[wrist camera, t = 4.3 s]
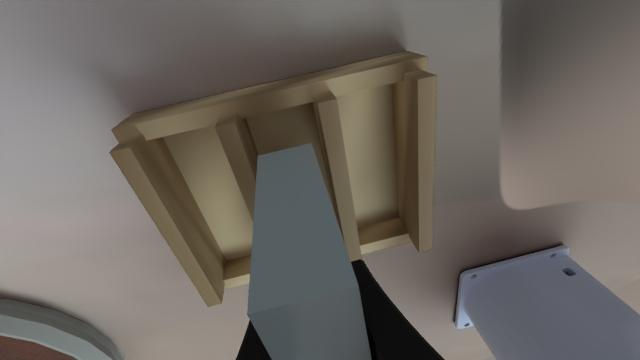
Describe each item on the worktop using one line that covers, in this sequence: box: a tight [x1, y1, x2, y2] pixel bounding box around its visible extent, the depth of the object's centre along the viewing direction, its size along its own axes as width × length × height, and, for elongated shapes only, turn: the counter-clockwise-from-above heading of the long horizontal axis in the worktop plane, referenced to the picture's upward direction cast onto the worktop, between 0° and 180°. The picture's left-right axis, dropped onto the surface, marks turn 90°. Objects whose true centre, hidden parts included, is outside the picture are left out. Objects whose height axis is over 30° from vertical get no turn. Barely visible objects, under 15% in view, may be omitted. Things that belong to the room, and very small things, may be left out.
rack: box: [109, 51, 437, 307], centre depth 16 cm, size 14×11×4 cm
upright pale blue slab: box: [247, 143, 372, 360], centre depth 11 cm, size 2×8×7 cm, turn 11°
